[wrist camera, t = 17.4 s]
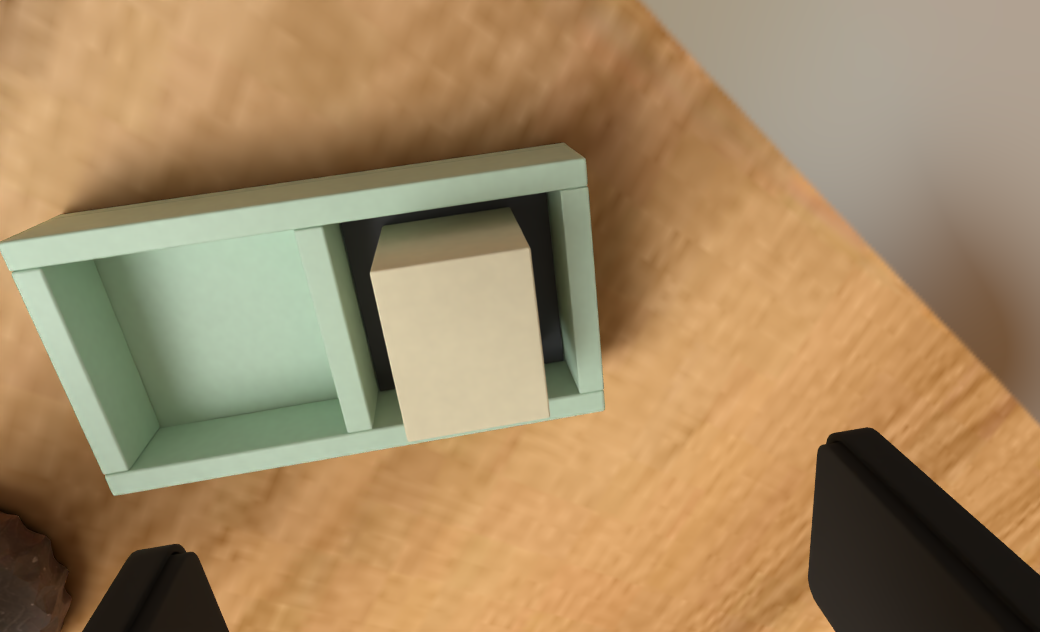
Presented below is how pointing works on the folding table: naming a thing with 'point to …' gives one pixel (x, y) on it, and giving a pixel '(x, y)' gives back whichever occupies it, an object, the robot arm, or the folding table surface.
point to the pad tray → (281, 312)
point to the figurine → (30, 580)
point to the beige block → (460, 323)
